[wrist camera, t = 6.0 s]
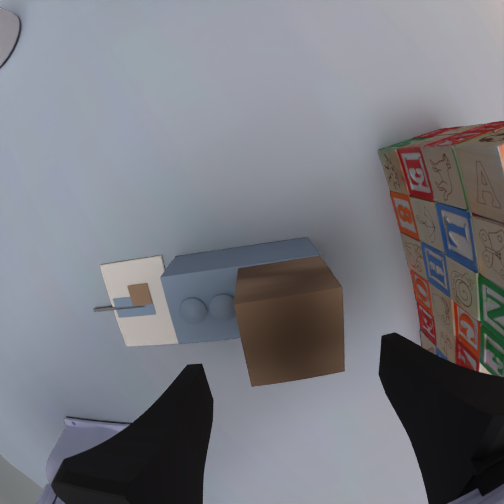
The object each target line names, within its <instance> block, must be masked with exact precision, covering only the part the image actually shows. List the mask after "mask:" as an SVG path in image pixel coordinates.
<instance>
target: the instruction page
mask: <svg viewBox="0 0 504 504" xmlns="http://www.w3.org/2000/svg"><path fill="white" fill-rule="evenodd" d="M100 267H101V271H102V274H103V278H104V281H105V284H106V288H107V291H108V294H109V297H110V301H111V304H112V307H106V308H95V309H94V312H99V311H110V310H114V313H115V316H116V319H117V321H118V324H119V327H120V330H121V333H122V335H123V338H124V341H125V344H126V346H147V345H163V344H177V343H178V340H177V337H176V333H175V330H174V326H173V323H172V320H171V316H170V313H169V309H168V305H167V302H166V298H165V294H164V290H163V287H162V283H161V279H160V277H161V275H162V274H163V273H164V271H165V267H164V263H163V259H162V255H159V256H153V257H147V258H140V259H134V260H127V261H121V262H115V263H108V264H102V265H100Z"/></svg>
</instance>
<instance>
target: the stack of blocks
mask: <svg viewBox="0 0 504 504" xmlns="http://www.w3.org/2000/svg"><path fill="white" fill-rule="evenodd" d="M378 154H379V157H380V160H381V163H382V166H383V169H384V172H385V175H386V178H387V182H388V185H389V188H390V195H391V199H392V202H393V206H394V210H395V213H396V217H397V221H398V225H399V229H400V231H401V237H402V242H403V246H404V250H405V255H406V259H407V264H408V267H409V268H410V270H411V276H412V280H413V287H414V292H415V298H416V300H417V306H418V313H419V319H420V326H421V330H420V335H421V343H422V348H424V349H426V350H428V351H430V352H432V353H434V354H435V355H437V356H439V357H442V358H444V359H446V360H448V361H450V362H452V363H455V364H457V365H460V366H463V367H466V368H469V369H471V370H475V371H478V372H482V373H486V374H490V375H495V376H501V377H504V121H499V122H492V123H487V124H479V125H471V126H465V127H464V126H463V127H453V128H444V129H440V130H436V131H433V132H430V133H427V134H424V135H421V136H418V137H414V138H413V139H410V140H407V141H404V142H401V143H398V144H395V145H392V146H389V147H386V148H383V149H380V150H378Z"/></svg>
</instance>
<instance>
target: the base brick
mask: <svg viewBox="0 0 504 504" xmlns="http://www.w3.org/2000/svg"><path fill="white" fill-rule="evenodd" d="M319 255H320V254H319V252H318V251H317V249H316V248H315V247H314V245H313V244H312V243H311V241H310V240H309V239H308V237H306V238H299V239H292V240H285V241H278V242H271V243H264V244H258V245H251V246H244V247H237V248H230V249H223V250H217V251H210V252H203V253H196V254H190V255H183V256H176V257H175V258H174V260H173V261H172V262H171V264H170V265H169V266H168V267H167V269H166V270H165V271H164V273H163V274H162V275H161V277H160V279H161V283H162V287H163V290H164V294H165V298H166V302H167V305H168V309H169V313H170V316H171V320H172V323H173V326H174V330H175V333H176V337H177V340H178V343H179V344H186V343H198V342H208V341H218V340H227V339H236V338H241V336H240V332H239V327H238V322H237V318H236V313H235V308H234V298H235V290H236V281H237V273H238V268H244V267H250V266H257V265H263V264H269V263H276V262H282V261H288V260H294V259H301V258H307V257H313V256H319Z"/></svg>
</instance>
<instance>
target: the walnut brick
mask: <svg viewBox="0 0 504 504" xmlns="http://www.w3.org/2000/svg"><path fill="white" fill-rule="evenodd" d="M234 308H235V313H236V318H237V322H238V327H239V332H240V336H241V341H242V346H243V350H244V355H245V359H246V364H247V368H248V373H249V377H250V381H251V386H252V387H253V386H261V385H268V384H275V383H282V382H289V381H295V380H301V379H307V378H312V377H318V376H323V375H328V374H333V373H338V372H343V371H345V366H344V317H343V295H342V286H341V285H340V283H339V282H338V280H337V279H336V278H335V276H334V275H333V273H332V272H331V270H330V269H329V268H328V266H327V265H326V263H325V262H324V261H323V259H322V258H321V256H320V255H319V256H313V257H307V258H301V259H294V260H288V261H282V262H276V263H269V264H263V265H257V266H250V267H244V268H238V273H237V281H236V290H235V298H234Z"/></svg>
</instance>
